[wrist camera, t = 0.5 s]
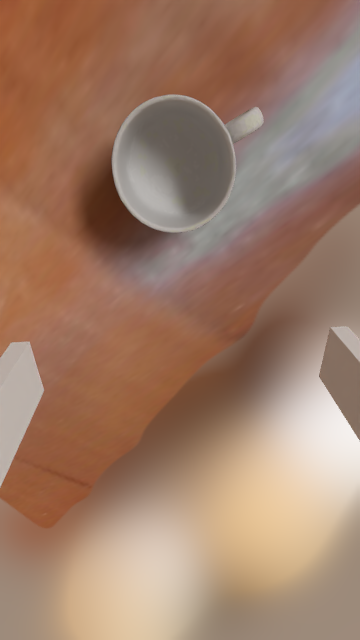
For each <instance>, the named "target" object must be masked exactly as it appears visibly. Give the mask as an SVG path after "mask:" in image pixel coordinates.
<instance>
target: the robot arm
mask: <svg viewBox="0 0 360 640" xmlns="http://www.w3.org/2000/svg"><path fill="white" fill-rule="evenodd" d="M319 377H320V379H321V380H322V382H323V383H324V385H325V386H326V388H327V390H328V391H329V393H330V394H331V396H332V397H333V399H334V401H335V402H336V404H337V405H338V407H339V409H340V410H341V412H342V413H343V415H344V416H345V418H346V420H347V421H348V423H349V424H350V426H351V428H352V429H353V431H354V432H355V434H356V435H357V437H358V439H359V440H360V339H359V338H358V337H357V336H356V335H355V334H354V333H353V332H352V331H351V330H350V329H349V328H348V327H330V330H329V335H328V339H327V343H326V348H325V352H324V356H323V361H322V365H321V370H320V374H319ZM43 392H44V388H43V385H42V382H41V378H40V375H39V372H38V369H37V365H36V362H35V359H34V355H33V352H32V349H31V345H30V342H12V343H11V344H10V345H9V347H8V348H7V349H6V351H5V352H4V354H3V355H2V356H1V358H0V487H1V485H2V482H3V480H4V478H5V476H6V474H7V471H8V469H9V467H10V465H11V463H12V460H13V458H14V456H15V454H16V452H17V449H18V447H19V445H20V443H21V440H22V438H23V436H24V434H25V432H26V429H27V427H28V425H29V423H30V421H31V418H32V416H33V414H34V412H35V410H36V407H37V405H38V403H39V401H40V398H41V396H42V394H43Z"/></svg>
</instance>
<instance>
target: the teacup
mask: <svg viewBox="0 0 360 640" xmlns="http://www.w3.org/2000/svg"><path fill="white" fill-rule="evenodd" d="M262 125H263V115H262V113H261V111H260V109H259V108H257V107H254V108H252V109H250V110H248V111H246V112H245V113H243V114H241V115H239V116H238V117H236V118H235V119H233V120H231V121H230V122H228V123H227V124H225V125H224V124H223V122H222V121H221V120H220V118H219V117H218V116H217V115H216V114H215V113H214V112H213V111H212V110H211V109H210V108H209V107H208V106H206V105H205V104H203V103H202V102H200V101H198V100H196V99H193V98H191V97H188V96H183V95H164V96H160V97H156V98H153V99H150V100H148V101H146V102H144V103H142V104H141V105H139V106H138V107H137V108H136V109H134V110H133V111H132V113H131V114H130V115H129V116H128V117H127V118H126V119H125V121H124V122H123V124H122V125H121V127H120V129H119V131H118V133H117V136H116V139H115V142H114V146H113V151H112V174H113V178H114V183H115V186H116V189H117V192H118V194H119V196H120V199H121V201H122V202H123V204H124V205H125V206H126V208H127V209H128V210H129V212H130V213H131V214H132V215H133V216H134V217H135V218H136V219H137V220H139V221H140V222H141V223H143V224H145V225H146V226H149V227H151V228H153V229H156V230H159V231H162V232H168V233H182V232H188V231H192V230H194V229H197V228H199V227H201V226H204V225H205V224H206V223H208V222H209V221H210V220H211V219H213V218H214V217H215V216H216V215H217V214H218V213H219V212H220V211H221V210H222V208H223V207H224V206H225V204H226V202H227V200H228V198H229V196H230V194H231V192H232V189H233V186H234V182H235V176H236V157H235V152H234V147H233V144H234V143H236V142H237V141H239V140H241V139H242V138H244V137H246V136H247V135H249V134H251V133H253V132H254V131H256V130H257V129H258V128H260V127H261V126H262Z"/></svg>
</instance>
